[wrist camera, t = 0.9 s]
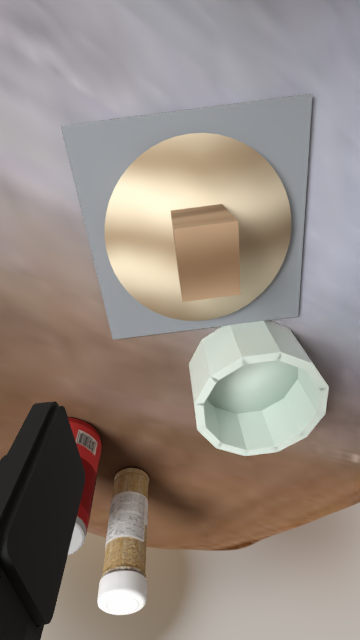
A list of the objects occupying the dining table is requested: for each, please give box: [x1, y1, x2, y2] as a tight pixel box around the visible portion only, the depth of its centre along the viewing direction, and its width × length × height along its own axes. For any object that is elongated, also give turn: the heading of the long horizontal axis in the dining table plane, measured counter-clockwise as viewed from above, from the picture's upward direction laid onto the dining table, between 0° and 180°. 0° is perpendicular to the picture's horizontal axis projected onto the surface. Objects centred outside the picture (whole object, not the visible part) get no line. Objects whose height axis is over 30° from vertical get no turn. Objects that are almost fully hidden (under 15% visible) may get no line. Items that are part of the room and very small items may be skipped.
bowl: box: [189, 320, 329, 456], centre depth 33 cm, size 12×12×6 cm
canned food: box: [68, 417, 102, 555], centre depth 35 cm, size 8×8×11 cm
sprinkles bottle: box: [98, 468, 149, 615], centre depth 37 cm, size 5×5×14 cm
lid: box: [105, 133, 291, 321], centre depth 25 cm, size 15×15×7 cm
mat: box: [61, 94, 312, 339], centre depth 29 cm, size 18×18×1 cm
